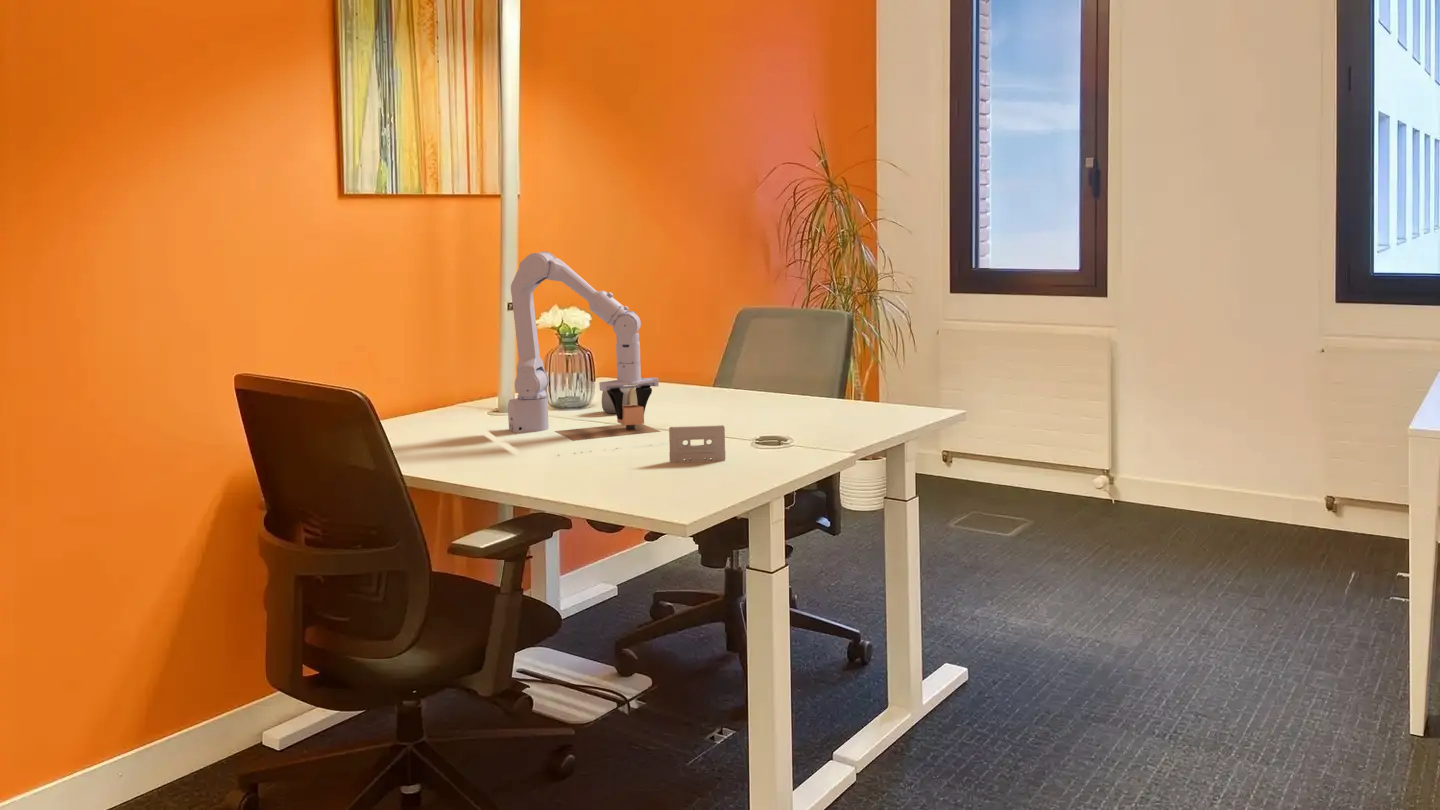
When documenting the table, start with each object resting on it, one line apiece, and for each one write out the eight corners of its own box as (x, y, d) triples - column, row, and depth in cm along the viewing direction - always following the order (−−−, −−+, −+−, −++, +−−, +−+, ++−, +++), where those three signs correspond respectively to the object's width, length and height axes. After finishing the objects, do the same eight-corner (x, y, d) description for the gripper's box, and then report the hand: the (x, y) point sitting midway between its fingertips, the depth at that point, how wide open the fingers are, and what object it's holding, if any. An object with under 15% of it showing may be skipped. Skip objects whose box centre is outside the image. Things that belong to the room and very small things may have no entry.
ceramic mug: (630, 415, 323) (629, 386, 322) (601, 414, 326) (600, 386, 325) (644, 410, 333) (643, 381, 332) (616, 409, 336) (615, 381, 335)
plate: (573, 444, 286) (572, 421, 285) (554, 435, 298) (553, 412, 297) (660, 435, 295) (660, 412, 294) (639, 426, 307) (638, 404, 306)
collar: (624, 425, 295) (624, 408, 295) (617, 422, 300) (616, 406, 299) (644, 423, 297) (643, 407, 297) (636, 420, 302) (636, 404, 301)
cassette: (669, 463, 263) (668, 428, 262) (669, 461, 265) (668, 426, 264) (725, 461, 264) (725, 426, 263) (725, 459, 266) (724, 424, 265)
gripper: (605, 366, 290) (607, 423, 292) (662, 361, 296) (664, 417, 298) (595, 363, 296) (597, 418, 298) (651, 358, 302) (653, 413, 304)
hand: (630, 417), depth 298 cm, fingers closed on collar, 5 cm apart
